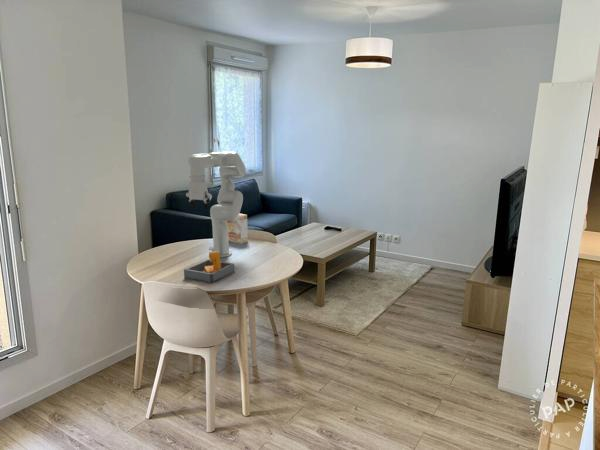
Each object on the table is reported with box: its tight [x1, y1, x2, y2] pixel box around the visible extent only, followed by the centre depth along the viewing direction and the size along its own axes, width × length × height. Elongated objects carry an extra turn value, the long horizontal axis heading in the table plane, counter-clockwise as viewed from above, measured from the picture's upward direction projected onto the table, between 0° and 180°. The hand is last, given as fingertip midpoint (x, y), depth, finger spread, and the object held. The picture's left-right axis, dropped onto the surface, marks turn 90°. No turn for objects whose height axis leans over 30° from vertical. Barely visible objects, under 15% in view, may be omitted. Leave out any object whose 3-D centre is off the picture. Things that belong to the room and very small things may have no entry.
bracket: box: [204, 251, 222, 273], centre depth 237 cm, size 11×7×12 cm, turn 23°
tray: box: [183, 259, 235, 285], centre depth 237 cm, size 18×20×5 cm
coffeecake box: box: [225, 213, 249, 245], centre depth 306 cm, size 15×7×20 cm, turn 50°
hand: (199, 209), depth 245 cm, fingers open, 9 cm apart
